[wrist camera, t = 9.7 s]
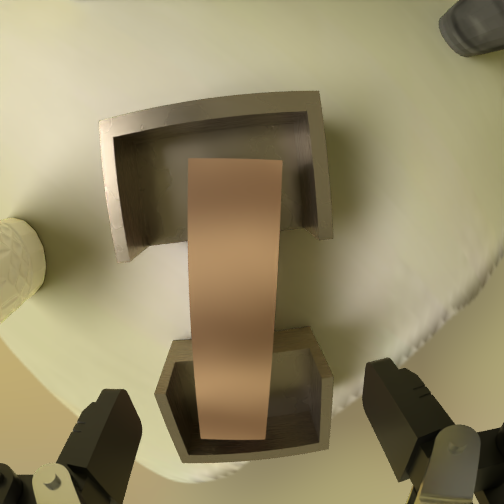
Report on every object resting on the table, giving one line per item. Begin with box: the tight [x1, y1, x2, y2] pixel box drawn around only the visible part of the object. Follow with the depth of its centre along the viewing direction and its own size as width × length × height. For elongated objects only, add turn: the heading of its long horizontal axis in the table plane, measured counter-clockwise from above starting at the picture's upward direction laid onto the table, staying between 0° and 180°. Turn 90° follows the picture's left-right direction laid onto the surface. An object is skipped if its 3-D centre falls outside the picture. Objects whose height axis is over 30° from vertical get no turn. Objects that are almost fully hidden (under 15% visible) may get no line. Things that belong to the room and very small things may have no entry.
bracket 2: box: [154, 326, 334, 463], centre depth 20 cm, size 7×10×6 cm
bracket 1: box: [99, 91, 333, 263], centre depth 16 cm, size 7×10×6 cm
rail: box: [188, 158, 282, 440], centre depth 16 cm, size 16×4×4 cm, turn 178°
